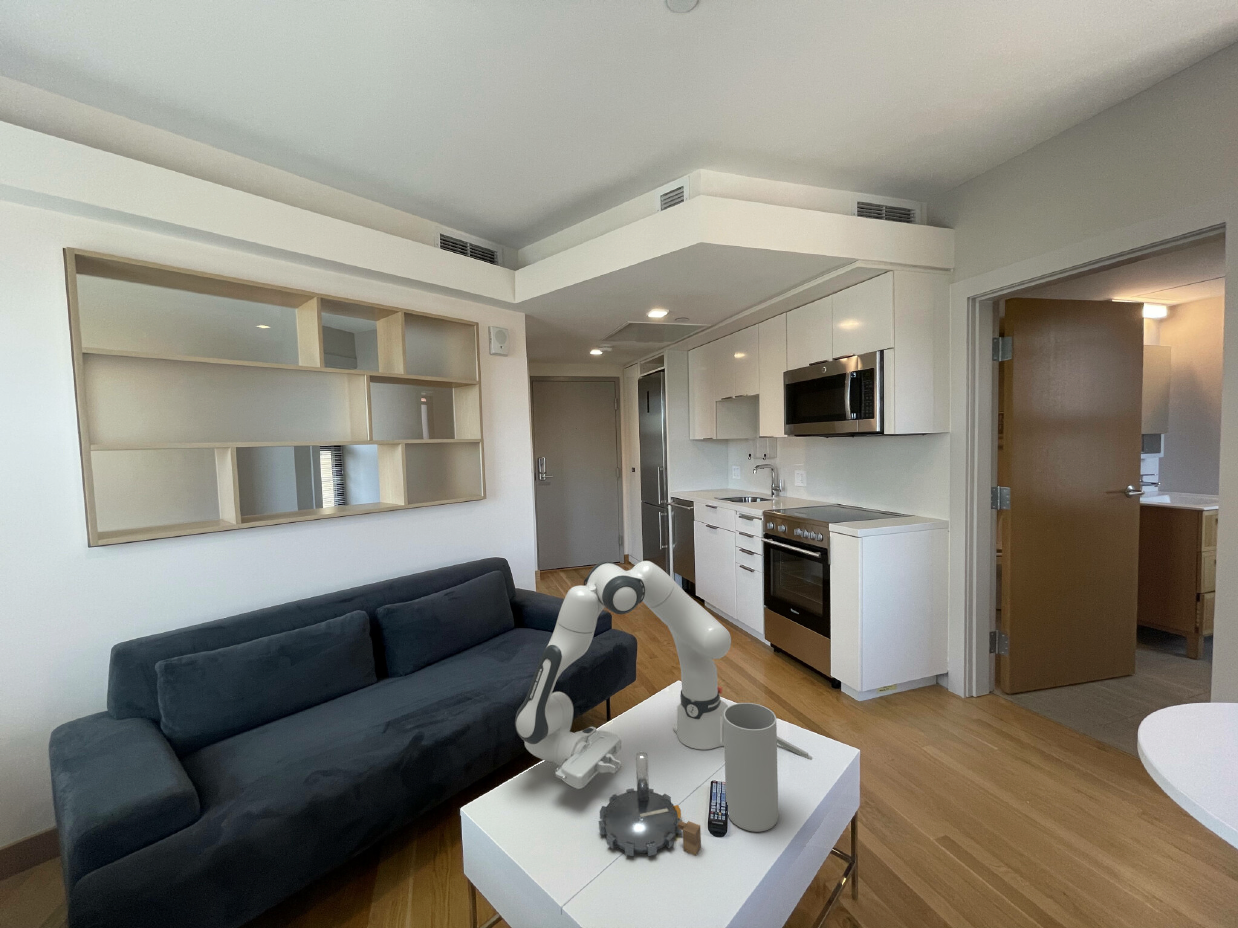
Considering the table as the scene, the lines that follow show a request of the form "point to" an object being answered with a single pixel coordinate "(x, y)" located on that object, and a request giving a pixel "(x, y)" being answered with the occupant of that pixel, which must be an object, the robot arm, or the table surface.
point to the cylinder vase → (751, 766)
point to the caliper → (793, 748)
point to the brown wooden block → (690, 837)
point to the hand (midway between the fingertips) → (617, 767)
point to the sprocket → (640, 817)
